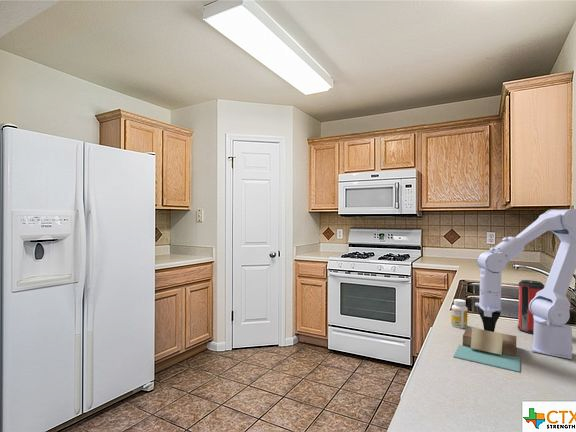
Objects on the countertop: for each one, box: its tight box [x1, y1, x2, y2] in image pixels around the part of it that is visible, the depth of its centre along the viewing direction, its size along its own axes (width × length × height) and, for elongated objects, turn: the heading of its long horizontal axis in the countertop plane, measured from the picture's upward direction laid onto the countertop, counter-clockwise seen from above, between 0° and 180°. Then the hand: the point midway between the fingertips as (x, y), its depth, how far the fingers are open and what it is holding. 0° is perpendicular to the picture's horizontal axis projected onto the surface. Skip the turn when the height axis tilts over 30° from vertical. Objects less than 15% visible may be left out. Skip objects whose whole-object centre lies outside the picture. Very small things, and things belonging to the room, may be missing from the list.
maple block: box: [471, 327, 504, 355], centre depth 104 cm, size 8×6×2 cm
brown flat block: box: [462, 326, 518, 357], centre depth 109 cm, size 14×10×4 cm
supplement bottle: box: [450, 298, 468, 329], centre depth 129 cm, size 5×5×10 cm
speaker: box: [517, 279, 545, 335], centre depth 125 cm, size 8×8×18 cm
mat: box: [453, 344, 521, 373], centre depth 100 cm, size 16×11×1 cm
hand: (489, 334), depth 107 cm, fingers closed
